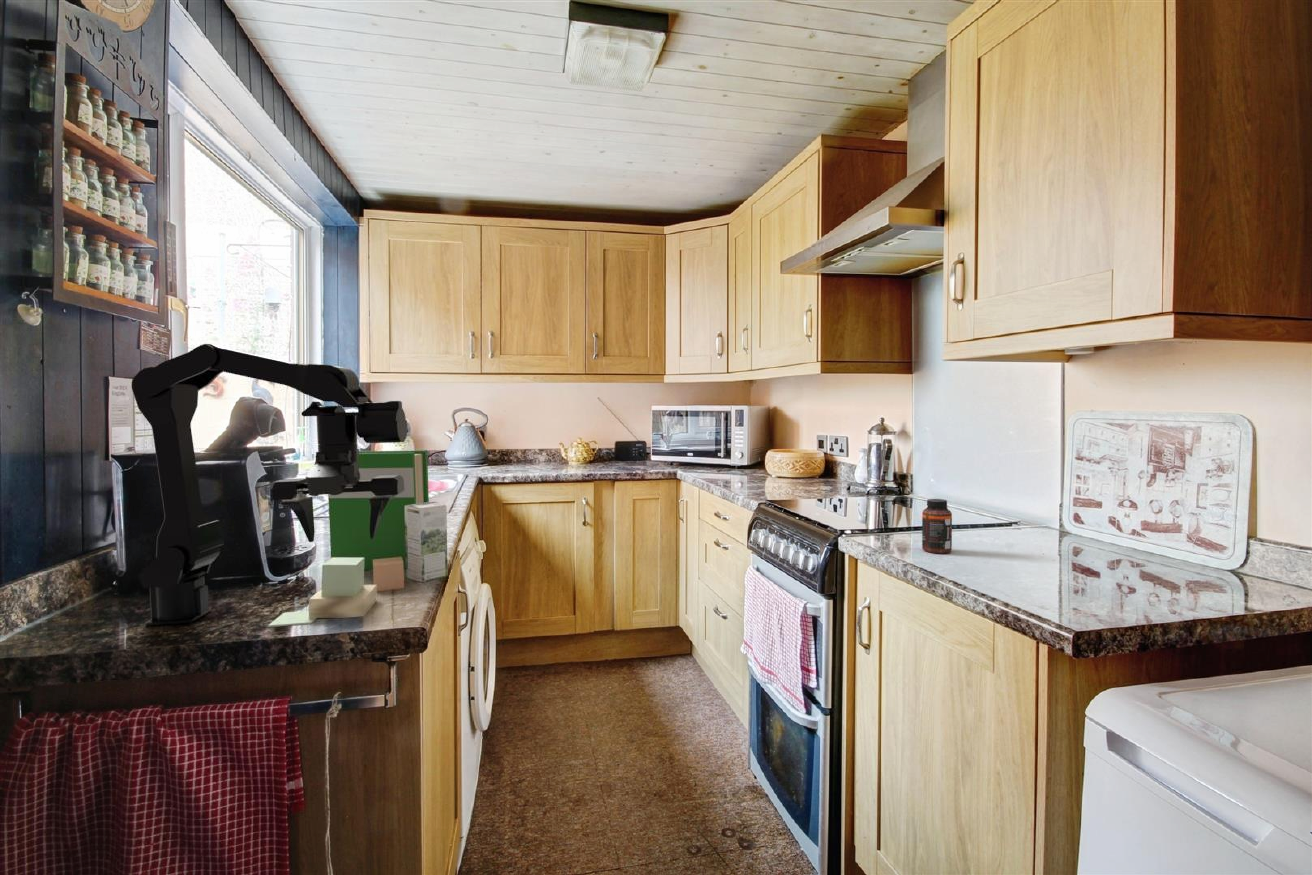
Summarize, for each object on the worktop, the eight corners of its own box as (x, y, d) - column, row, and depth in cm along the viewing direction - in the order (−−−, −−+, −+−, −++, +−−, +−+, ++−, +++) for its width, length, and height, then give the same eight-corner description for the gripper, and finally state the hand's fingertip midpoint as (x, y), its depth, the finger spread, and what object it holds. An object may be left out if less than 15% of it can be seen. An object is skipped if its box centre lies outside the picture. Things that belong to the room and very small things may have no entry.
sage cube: (321, 596, 100) (322, 564, 100) (331, 587, 105) (332, 557, 104) (355, 595, 101) (356, 564, 100) (363, 587, 106) (364, 557, 105)
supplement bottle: (956, 554, 135) (957, 501, 134) (928, 554, 135) (929, 502, 134) (944, 547, 141) (944, 497, 140) (917, 548, 141) (917, 498, 140)
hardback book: (430, 561, 135) (427, 450, 134) (416, 570, 128) (412, 452, 127) (350, 562, 136) (345, 451, 135) (331, 571, 129) (326, 454, 127)
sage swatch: (268, 627, 95) (268, 625, 95) (284, 615, 101) (283, 612, 101) (311, 624, 96) (311, 622, 96) (324, 612, 102) (324, 609, 102)
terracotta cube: (374, 593, 113) (373, 565, 113) (373, 586, 117) (372, 559, 117) (404, 589, 115) (403, 562, 115) (402, 582, 120) (401, 556, 119)
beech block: (308, 617, 98) (309, 598, 98) (325, 602, 106) (326, 584, 106) (363, 617, 100) (364, 598, 99) (376, 602, 107) (376, 584, 107)
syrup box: (432, 572, 126) (430, 500, 126) (449, 577, 123) (446, 503, 122) (405, 578, 122) (403, 504, 121) (422, 583, 118) (419, 507, 117)
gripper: (251, 449, 92) (257, 555, 93) (387, 445, 95) (391, 547, 96) (282, 444, 103) (287, 539, 104) (403, 441, 106) (406, 533, 107)
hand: (342, 540), depth 102 cm, fingers open, 9 cm apart
